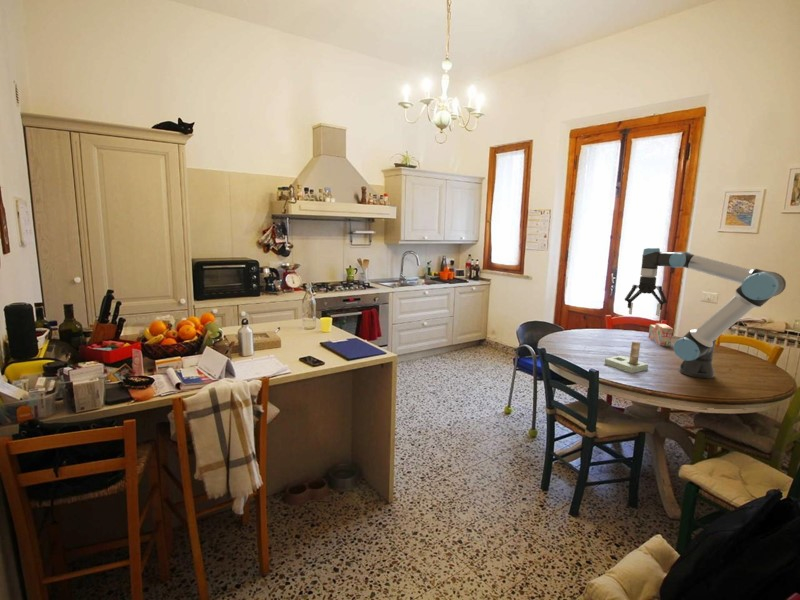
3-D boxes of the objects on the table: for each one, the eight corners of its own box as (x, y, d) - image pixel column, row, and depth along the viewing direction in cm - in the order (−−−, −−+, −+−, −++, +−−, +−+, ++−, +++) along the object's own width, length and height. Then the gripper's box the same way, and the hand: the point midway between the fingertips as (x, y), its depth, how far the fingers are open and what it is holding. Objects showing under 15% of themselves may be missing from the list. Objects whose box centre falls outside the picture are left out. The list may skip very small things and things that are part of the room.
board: (647, 369, 225) (648, 364, 224) (631, 373, 219) (632, 367, 218) (620, 360, 239) (621, 355, 238) (604, 363, 233) (605, 358, 232)
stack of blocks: (648, 337, 292) (650, 320, 290) (657, 337, 291) (660, 320, 289) (660, 345, 272) (662, 327, 270) (670, 346, 271) (673, 328, 268)
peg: (638, 369, 224) (642, 342, 222) (633, 370, 223) (637, 343, 220) (631, 367, 228) (634, 341, 225) (626, 368, 226) (630, 341, 223)
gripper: (671, 276, 224) (666, 314, 227) (621, 274, 229) (617, 312, 233) (677, 278, 216) (671, 317, 220) (625, 276, 222) (620, 314, 226)
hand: (643, 314), depth 227 cm, fingers open, 13 cm apart
